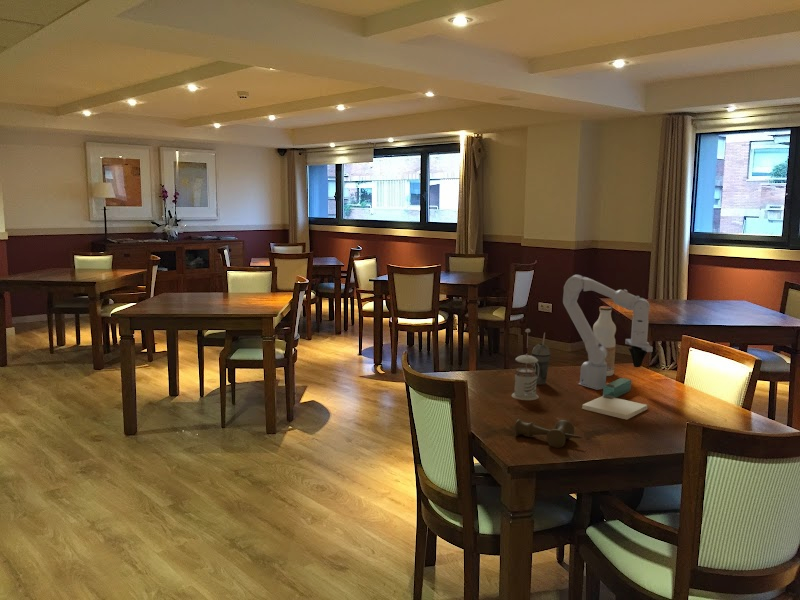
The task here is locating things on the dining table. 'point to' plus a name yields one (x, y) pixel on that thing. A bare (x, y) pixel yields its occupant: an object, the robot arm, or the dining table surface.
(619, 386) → the dark green rectangular beam
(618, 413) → the stool seat
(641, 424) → the dining table surface
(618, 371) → the dining table surface
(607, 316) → the fruit juice
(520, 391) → the french press
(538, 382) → the beverage cup
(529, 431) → the kendama
